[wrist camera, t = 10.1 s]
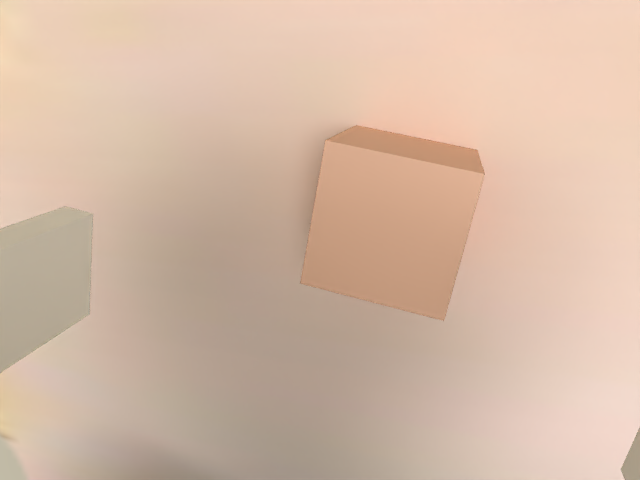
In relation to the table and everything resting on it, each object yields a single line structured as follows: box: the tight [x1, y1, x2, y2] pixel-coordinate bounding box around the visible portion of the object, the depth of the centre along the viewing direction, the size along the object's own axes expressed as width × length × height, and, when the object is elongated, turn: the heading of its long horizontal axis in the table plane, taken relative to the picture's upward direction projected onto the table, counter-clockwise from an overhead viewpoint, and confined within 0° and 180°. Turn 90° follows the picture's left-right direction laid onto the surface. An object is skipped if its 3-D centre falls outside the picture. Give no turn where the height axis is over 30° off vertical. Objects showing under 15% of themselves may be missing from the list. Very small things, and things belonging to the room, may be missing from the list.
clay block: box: [300, 125, 485, 321], centre depth 24 cm, size 6×6×7 cm
